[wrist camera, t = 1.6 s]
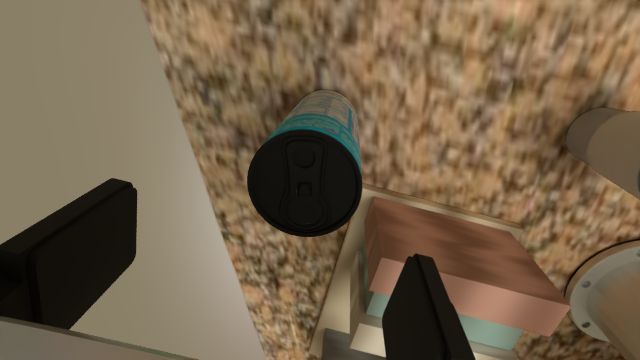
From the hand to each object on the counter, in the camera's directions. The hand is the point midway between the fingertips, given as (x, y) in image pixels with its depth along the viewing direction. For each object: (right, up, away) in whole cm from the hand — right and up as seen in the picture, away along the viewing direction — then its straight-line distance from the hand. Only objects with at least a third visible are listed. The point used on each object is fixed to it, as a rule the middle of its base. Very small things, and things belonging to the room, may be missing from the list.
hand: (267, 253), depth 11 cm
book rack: (+11, -10, +26) cm, 30 cm away
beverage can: (+2, +8, +20) cm, 21 cm away
